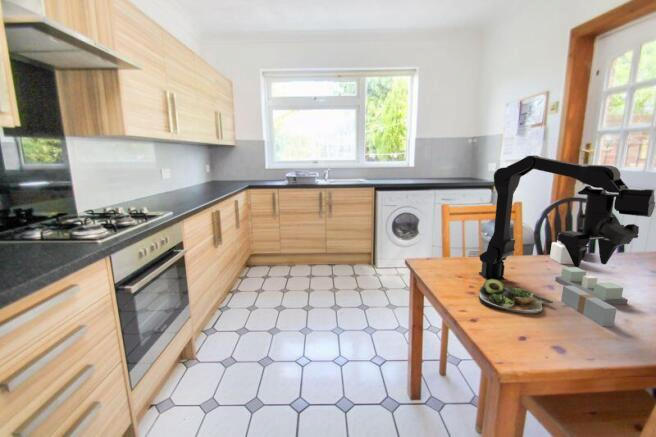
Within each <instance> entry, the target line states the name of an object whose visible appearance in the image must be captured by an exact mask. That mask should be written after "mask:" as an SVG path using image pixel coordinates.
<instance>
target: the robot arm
mask: <svg viewBox="0 0 656 437" xmlns="http://www.w3.org/2000/svg"><path fill="white" fill-rule="evenodd" d="M533 170H537V171H541V172H546V173H550V174H555V175H559V176H564V177H568V178H572V179H575V180H576V181H579V182H581V183H583V184H585V185H586V186H585V187H583V189H581V190H580V191H578V192H577V194H578V195H581V196H582V195H584V196H586V200H585V205H584V207H585V209H584V213H580V214H579V218H581V219H583V221H582V227H579V228H578V229H577V231H575V230H566V231H565V230H564V231H560V232H558V234H557V240H558V241H560V242H561V243H562V244H564V246H565V247H566V249H567V251H568V253H569V255H570V257H571V259H572V262H573V264H572V265H573V267H577V268H580V266H581V263H582V260H583V259H582V255H583V251H584V250H585V249H586V248H587V249H588V248H589V247H590V246H589V245H588V244H589V243H590V241H592V240H593V241H594V240H597V243H598V251H599V259H600V260H599V261H600V264H602V265H607V264H608V262H609V260H610V258H611V257H612V256H613V254H614V252H615V251H616V249H618V248H619V247H621V246H623V245H630V244H631V242H632V240H633V239H638V238H639V235H638V234H639V233H640V232H639V231H640V230H639V228H640V227H639V226H638V225H637V224H634V223H630V224H628V223H627V225H625V224H619V223H617V220H618V219H617V217H616V216H614V215H613V209H614V210H615V211H616V212H618V214H620V215H626V216H627V215H628V216H634V217H644V218H645V217H646V218H650V217H652V215H653V213H654V210H655V207H656V206H655V205H656V201H655V195H654V194H655V189H650V188H647V189H635V188H634V189H633V188H629V187H628V186H627V184H626V183H625V182H624V181H623V180H622V178H621V172H620V170H619V169H618V167H617V166H614V165H605V164H600V165H599V164H579V163H573V162H567V161H562V160H558V159H554V158H548V157H542V156H538V155H527V156H525V157H524V158H522V159H520V160H518V161H516V162H514V163H511V164H509V165H507V166H506V167H500V168H498V169H496V171H494V172H493V186H494V189H495V191H496V193H497V197H496V207H495V218H494V227H493V234H492V236H491V238H490V239H489V241H488V244H487V248H486V251H484V252H483V253H481V254H480V255H479V261H480V262H481V271H479V272H478V274H479V275H480V276H481V277H483V278H484V279H486V281H487V280H489V279H496V280H499V281H500V280H501V281H502V280H506V278H505V277H504V275H505V265H504V263H505V262H504V261H506V259H507V257H510V256H511V255H512V254H513V252H515V250H516V249H515V243H516V239H513V238H512V237H511V236H510V229H511V218H512V209H513V200H514V193H515V191H516V190H517V188H518V187H519V184H520V181H521V178H522V177H523V176H525V175H527V174H529V173H530V172H531V171H533ZM599 188H600V189H599Z"/></svg>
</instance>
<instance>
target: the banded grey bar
mask: <svg viewBox="0 0 656 437" xmlns="http://www.w3.org/2000/svg"><path fill="white" fill-rule="evenodd" d="M560 299H561V300H560V302H562V303H563V304H565V305H566V306H568V307H570V308H571V309H573V310H575V311H576V312H578V313H580V314H582V315H583V316H585V317H586V318H587V319H590V320H591V321H593V322H594V323H597V324H598V325H599V326H601V327H614V325H615V320H616V315H617V310H618V308H617V307H615V306H613V305H609V304H608V303H606V302H604V301H602V300H600V299H598V298H596V297H594V296H592V295H590V294H588V293H586V292H584V291H582V290H581V289H579V288H577V287H575V286H564V285H563V286H562V294H561V298H560Z"/></svg>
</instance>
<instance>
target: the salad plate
mask: <svg viewBox="0 0 656 437" xmlns="http://www.w3.org/2000/svg"><path fill="white" fill-rule="evenodd" d="M478 294H479V295H478V299H479V301H480V302H481V303H482V304H483V305H485V306H487V307H489V308H492V309H495V310H498V311H499V310H500V311H506V312H510V313H511V312H512V313H518V314H529V315H530V314H531V315H532V314H538V313H541V312H543V311H544V310H543V304H553V301H552V300H550V299H547V298H544V297H541V296H538V295H537V294H536V293H534V292H532V291H530V290H527V289H522V288H520V287H518V288H514V287H510V286H508V285H507V286H506V285H504V283H503V282H502V281H500V280H496V279H489V280H487V279H486V280H485V281H484V283H483V285H481V286H480V289H479V293H478ZM514 306H522V307H527V308H528V309H524V310H523V309H514V308H512V307H514Z"/></svg>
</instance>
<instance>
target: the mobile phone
mask: <svg viewBox="0 0 656 437" xmlns="http://www.w3.org/2000/svg"><path fill="white" fill-rule="evenodd" d="M587 255H588V248H586V249H585V250H584V251H583V255H582V259H581V260H583V261H584V262H586V261H587V260H586V258H587Z"/></svg>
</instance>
